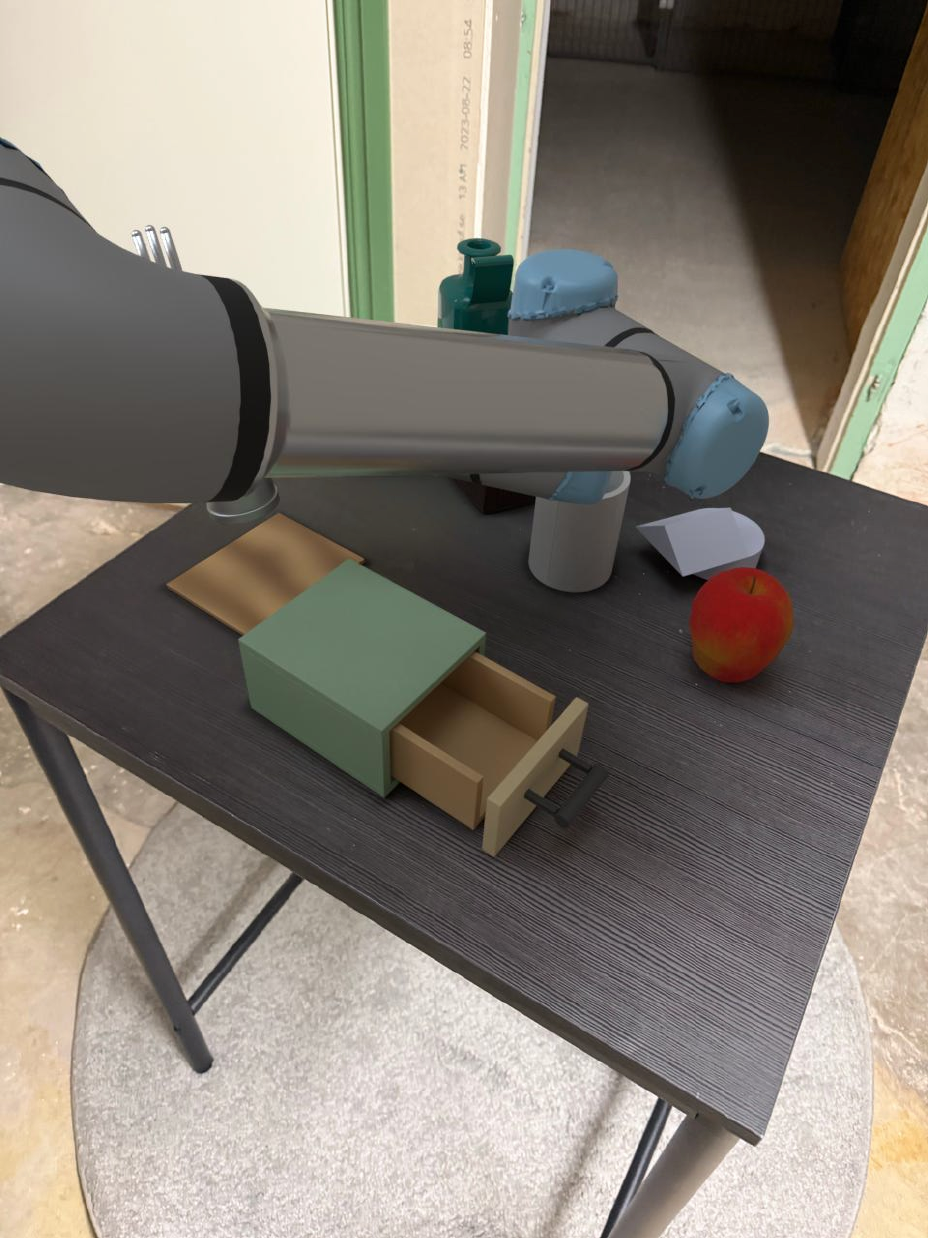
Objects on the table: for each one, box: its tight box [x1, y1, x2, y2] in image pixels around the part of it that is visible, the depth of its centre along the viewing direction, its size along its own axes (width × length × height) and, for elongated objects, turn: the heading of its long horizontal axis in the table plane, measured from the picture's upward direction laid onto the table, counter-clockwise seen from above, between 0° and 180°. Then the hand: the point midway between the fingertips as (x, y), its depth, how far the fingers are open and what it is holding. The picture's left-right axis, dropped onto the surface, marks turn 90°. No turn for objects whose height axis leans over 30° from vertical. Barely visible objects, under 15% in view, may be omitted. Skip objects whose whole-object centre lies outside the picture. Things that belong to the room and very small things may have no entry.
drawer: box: [389, 651, 610, 858], centre depth 71 cm, size 19×13×7 cm
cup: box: [527, 471, 632, 593], centre depth 91 cm, size 9×9×12 cm
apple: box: [688, 567, 795, 683], centre depth 80 cm, size 9×9×12 cm
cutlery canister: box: [131, 224, 281, 526], centre depth 77 cm, size 7×7×26 cm
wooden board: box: [166, 512, 366, 637], centre depth 92 cm, size 16×13×1 cm
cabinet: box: [237, 559, 487, 799], centre depth 76 cm, size 16×14×9 cm
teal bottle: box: [436, 237, 515, 335], centre depth 111 cm, size 10×8×22 cm
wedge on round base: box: [635, 507, 766, 581], centre depth 94 cm, size 9×7×13 cm
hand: (190, 382), depth 78 cm, fingers closed on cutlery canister, 7 cm apart
